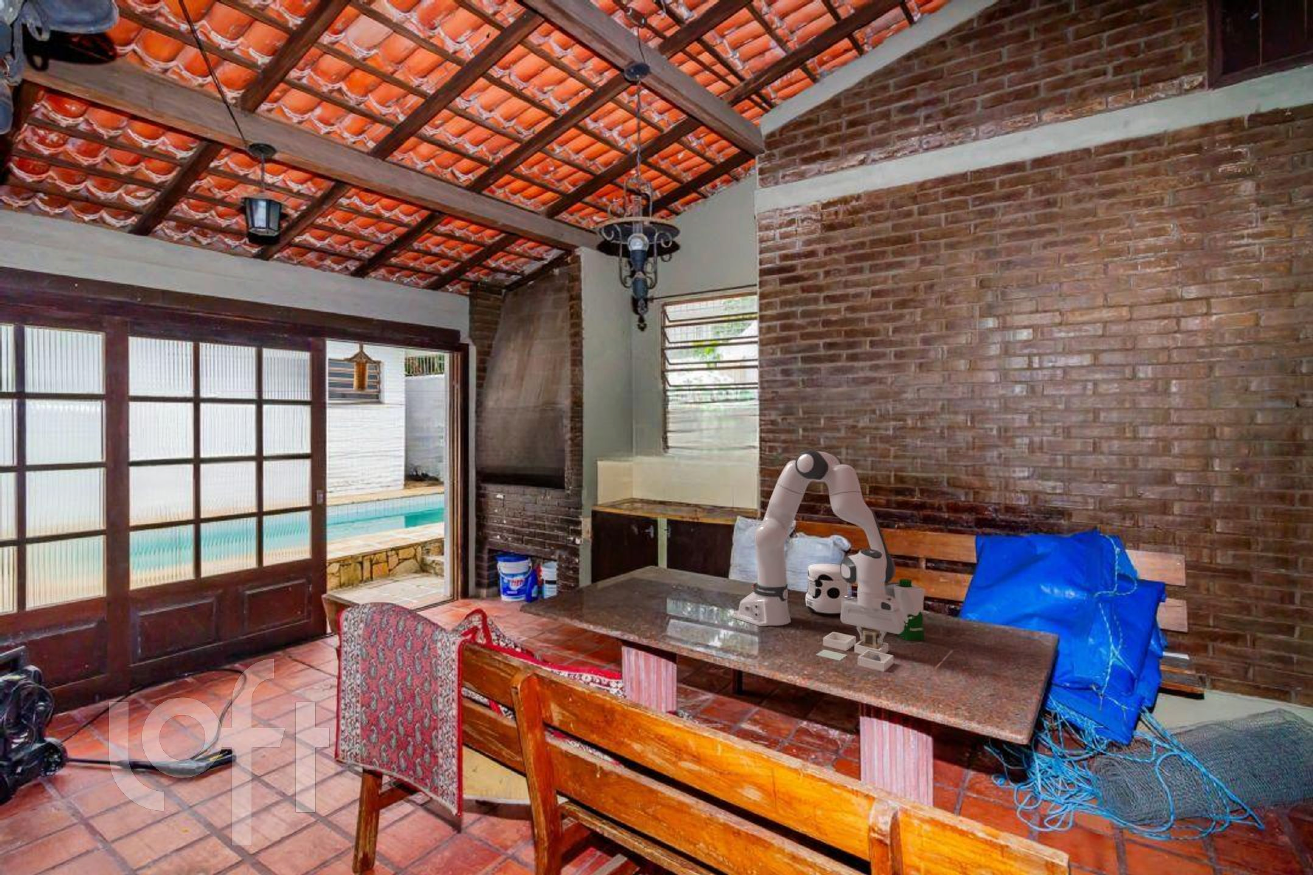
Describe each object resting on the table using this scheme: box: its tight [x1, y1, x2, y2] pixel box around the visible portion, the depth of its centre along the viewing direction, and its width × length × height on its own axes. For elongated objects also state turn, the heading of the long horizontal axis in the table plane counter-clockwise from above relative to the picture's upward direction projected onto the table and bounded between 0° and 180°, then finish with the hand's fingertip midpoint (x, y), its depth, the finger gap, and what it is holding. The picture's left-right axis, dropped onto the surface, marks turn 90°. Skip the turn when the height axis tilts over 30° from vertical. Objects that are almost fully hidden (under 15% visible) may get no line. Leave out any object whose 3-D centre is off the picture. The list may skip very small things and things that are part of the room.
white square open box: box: [857, 650, 894, 672], centre depth 194 cm, size 8×8×3 cm
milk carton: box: [893, 578, 926, 642], centre depth 219 cm, size 9×9×20 cm
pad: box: [815, 649, 848, 661], centre depth 202 cm, size 8×6×1 cm
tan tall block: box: [863, 628, 881, 649], centre depth 205 cm, size 4×4×7 cm
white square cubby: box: [854, 640, 889, 655], centre depth 205 cm, size 8×8×3 cm
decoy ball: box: [870, 654, 881, 661], centre depth 194 cm, size 3×3×3 cm
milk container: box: [805, 563, 850, 616], centre depth 252 cm, size 17×17×18 cm
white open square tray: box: [822, 631, 857, 651], centre depth 212 cm, size 8×8×3 cm
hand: (871, 641), depth 205 cm, fingers closed on tan tall block, 4 cm apart
